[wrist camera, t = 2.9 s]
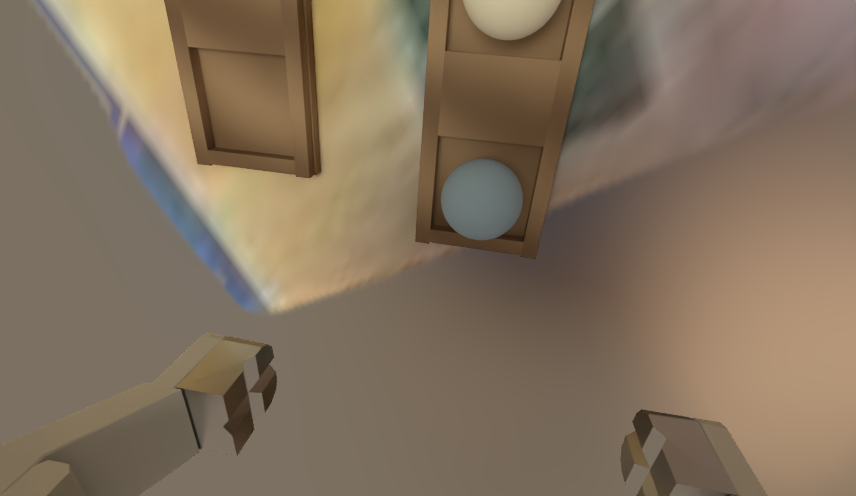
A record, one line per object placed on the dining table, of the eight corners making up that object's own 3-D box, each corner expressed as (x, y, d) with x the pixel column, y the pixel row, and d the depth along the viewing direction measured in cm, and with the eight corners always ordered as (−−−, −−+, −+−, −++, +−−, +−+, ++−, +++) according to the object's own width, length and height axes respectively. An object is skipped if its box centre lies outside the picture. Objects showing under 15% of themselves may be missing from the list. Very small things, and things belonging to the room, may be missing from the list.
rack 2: (441, -116, 16) (436, -128, 15) (616, -110, 16) (625, -122, 14) (418, 231, 24) (413, 241, 23) (535, 248, 23) (537, 259, 22)
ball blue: (528, 154, 20) (533, 177, 17) (514, 225, 22) (516, 260, 18) (450, 145, 21) (439, 166, 17) (443, 216, 22) (432, 248, 19)
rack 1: (139, -221, 17) (112, -241, 15) (298, -220, 16) (282, -241, 15) (210, 157, 24) (196, 163, 23) (320, 171, 23) (311, 178, 22)
